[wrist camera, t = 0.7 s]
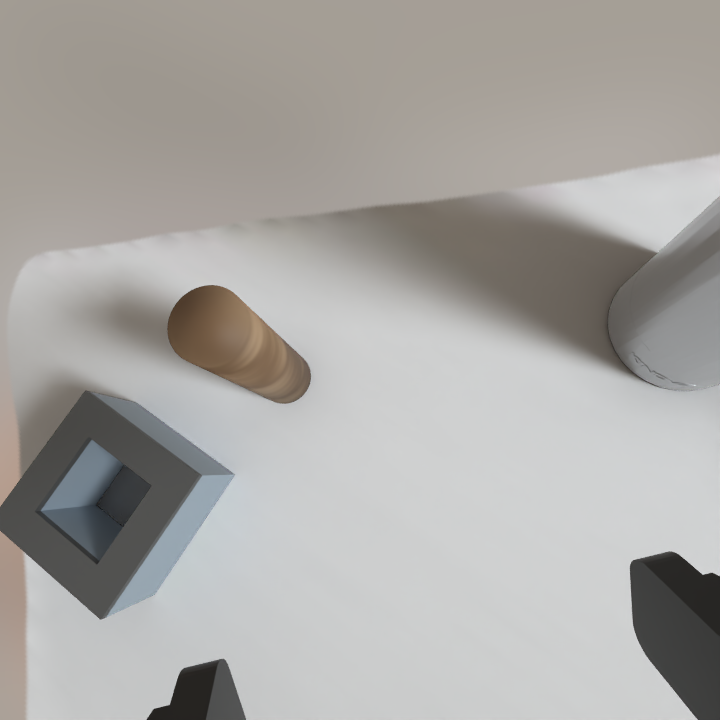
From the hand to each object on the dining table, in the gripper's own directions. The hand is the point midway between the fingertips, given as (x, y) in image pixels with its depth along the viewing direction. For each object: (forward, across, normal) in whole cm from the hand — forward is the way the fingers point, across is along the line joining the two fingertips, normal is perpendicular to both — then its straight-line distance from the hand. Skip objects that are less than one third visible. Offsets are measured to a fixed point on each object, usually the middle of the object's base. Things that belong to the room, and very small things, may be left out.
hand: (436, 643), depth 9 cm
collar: (+27, +17, +8) cm, 33 cm away
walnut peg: (+28, +5, +2) cm, 29 cm away
